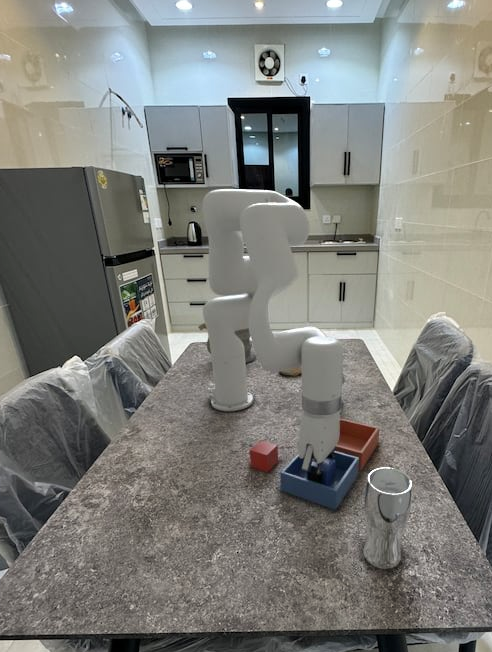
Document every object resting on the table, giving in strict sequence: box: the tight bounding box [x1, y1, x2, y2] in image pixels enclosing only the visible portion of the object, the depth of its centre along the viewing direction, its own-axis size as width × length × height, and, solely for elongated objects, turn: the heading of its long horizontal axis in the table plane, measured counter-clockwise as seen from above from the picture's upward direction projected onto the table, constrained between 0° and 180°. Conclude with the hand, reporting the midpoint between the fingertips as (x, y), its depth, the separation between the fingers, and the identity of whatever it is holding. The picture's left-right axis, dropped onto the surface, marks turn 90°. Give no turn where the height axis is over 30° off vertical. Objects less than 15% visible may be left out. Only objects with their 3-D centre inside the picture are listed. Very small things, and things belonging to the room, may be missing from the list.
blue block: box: [307, 457, 335, 487], centre depth 79 cm, size 4×4×4 cm
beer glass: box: [363, 467, 413, 570], centre depth 60 cm, size 7×7×15 cm
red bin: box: [334, 418, 380, 471], centre depth 91 cm, size 12×12×4 cm
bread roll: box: [279, 367, 302, 376], centre depth 138 cm, size 11×11×5 cm
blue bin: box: [279, 451, 359, 511], centre depth 80 cm, size 12×12×4 cm
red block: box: [249, 440, 279, 473], centre depth 86 cm, size 4×4×4 cm
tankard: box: [198, 322, 255, 364], centre depth 148 cm, size 20×13×15 cm, turn 94°
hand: (320, 479), depth 80 cm, fingers closed on blue block, 4 cm apart
